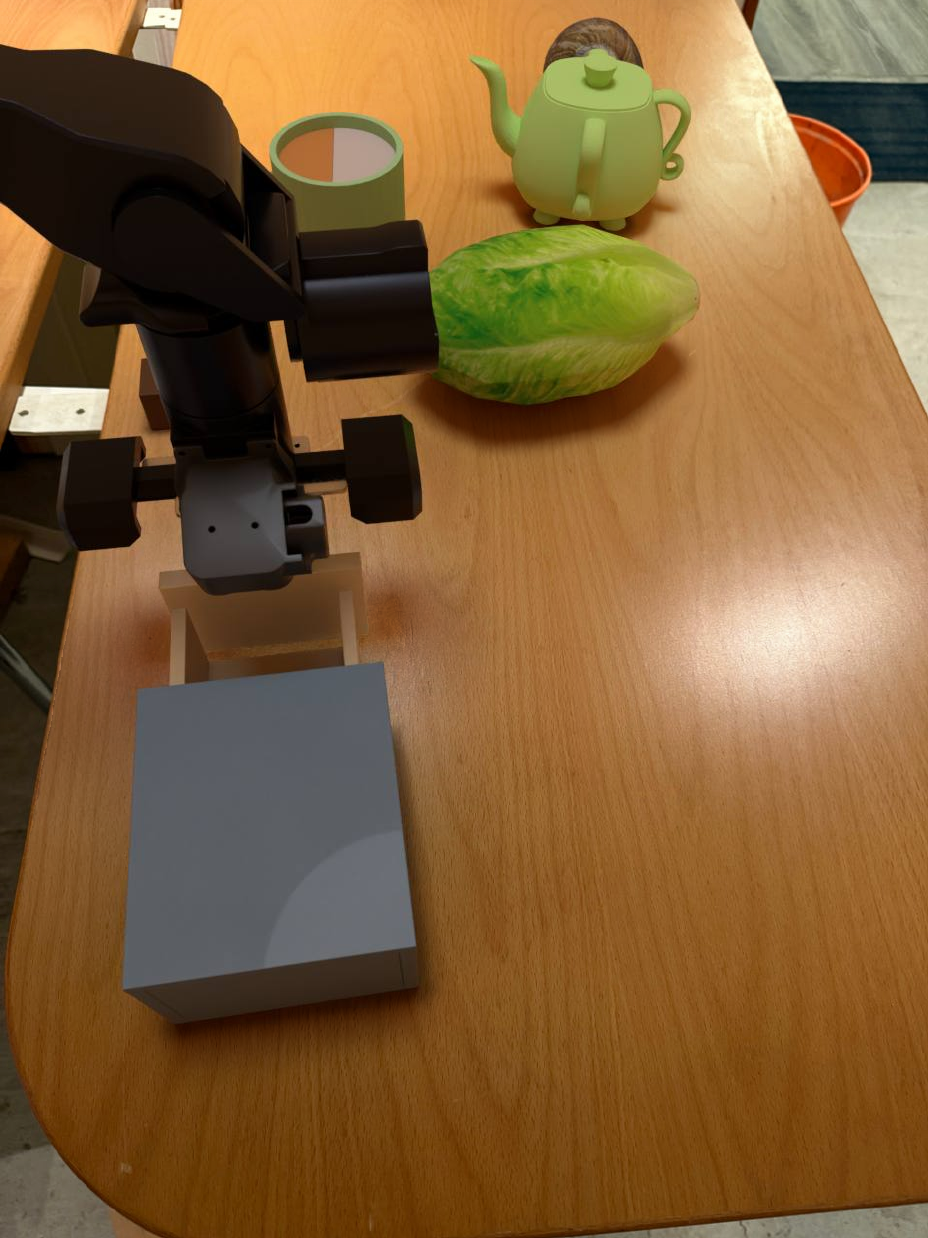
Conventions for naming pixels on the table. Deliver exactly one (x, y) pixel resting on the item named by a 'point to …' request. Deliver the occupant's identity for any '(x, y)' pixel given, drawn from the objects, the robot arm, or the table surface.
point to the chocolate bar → (151, 398)
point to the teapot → (587, 138)
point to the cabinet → (266, 846)
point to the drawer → (266, 622)
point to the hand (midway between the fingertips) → (269, 570)
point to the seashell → (594, 42)
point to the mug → (340, 170)
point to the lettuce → (554, 312)
